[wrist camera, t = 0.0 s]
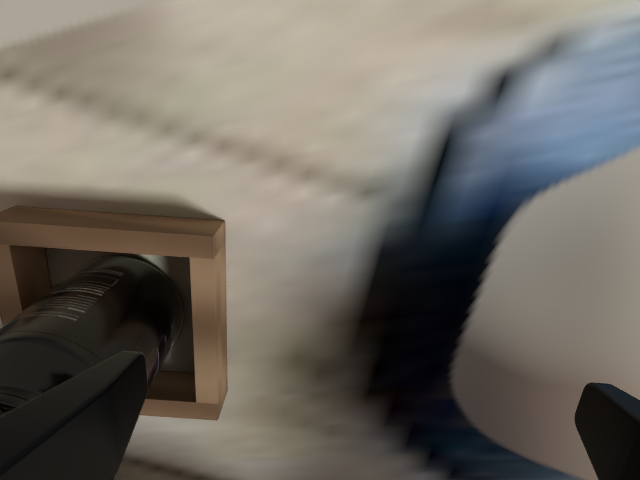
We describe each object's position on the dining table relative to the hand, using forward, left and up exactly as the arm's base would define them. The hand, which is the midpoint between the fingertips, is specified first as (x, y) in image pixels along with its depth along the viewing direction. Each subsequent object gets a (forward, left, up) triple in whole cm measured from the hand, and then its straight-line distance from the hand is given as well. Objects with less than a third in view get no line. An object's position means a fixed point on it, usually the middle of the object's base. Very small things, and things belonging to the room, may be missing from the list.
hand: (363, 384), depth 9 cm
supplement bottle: (-7, +12, -15) cm, 20 cm away
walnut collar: (-7, +12, -15) cm, 20 cm away
